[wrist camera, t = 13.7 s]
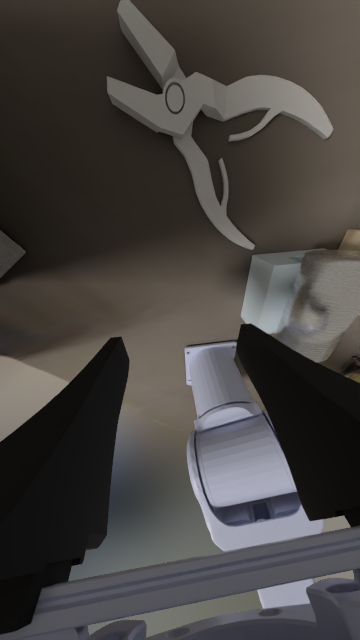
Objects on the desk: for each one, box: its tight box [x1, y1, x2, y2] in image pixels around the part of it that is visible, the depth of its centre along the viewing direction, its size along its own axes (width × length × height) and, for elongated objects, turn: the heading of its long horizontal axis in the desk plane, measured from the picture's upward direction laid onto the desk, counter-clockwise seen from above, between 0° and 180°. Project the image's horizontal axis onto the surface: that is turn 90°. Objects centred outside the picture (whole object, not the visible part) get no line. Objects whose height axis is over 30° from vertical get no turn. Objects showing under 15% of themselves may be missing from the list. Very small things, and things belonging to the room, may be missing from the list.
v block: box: [241, 248, 327, 334], centre depth 18 cm, size 8×8×4 cm
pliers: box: [107, 0, 333, 250], centre depth 12 cm, size 10×2×15 cm
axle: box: [274, 250, 360, 363], centre depth 14 cm, size 9×5×5 cm, turn 3°
